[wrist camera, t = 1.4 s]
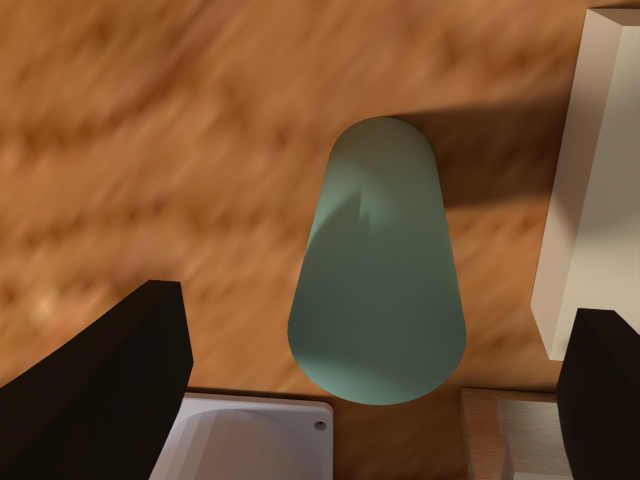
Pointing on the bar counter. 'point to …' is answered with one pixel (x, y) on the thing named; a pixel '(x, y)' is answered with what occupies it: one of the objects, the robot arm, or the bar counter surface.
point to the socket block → (595, 187)
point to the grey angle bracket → (512, 435)
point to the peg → (379, 272)
